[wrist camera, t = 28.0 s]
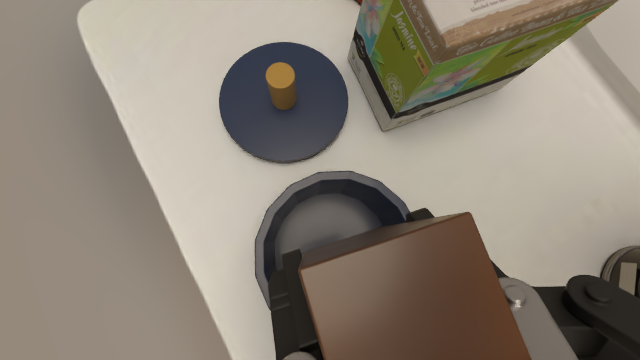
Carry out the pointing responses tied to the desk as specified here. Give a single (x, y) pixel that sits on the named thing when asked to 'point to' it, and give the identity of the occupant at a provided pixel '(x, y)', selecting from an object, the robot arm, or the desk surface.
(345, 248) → the block
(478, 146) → the desk surface
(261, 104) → the tin lid
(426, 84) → the tea box
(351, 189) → the tin
